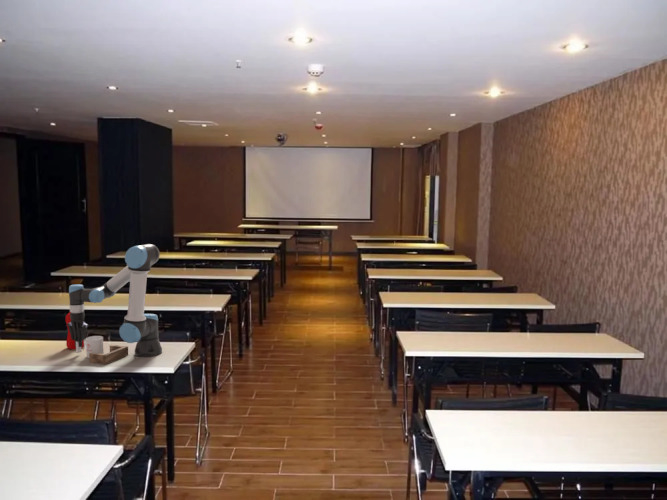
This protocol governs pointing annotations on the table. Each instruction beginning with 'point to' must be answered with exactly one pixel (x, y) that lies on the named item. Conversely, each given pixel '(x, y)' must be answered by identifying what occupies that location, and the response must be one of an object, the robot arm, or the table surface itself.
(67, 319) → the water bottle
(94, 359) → the dock
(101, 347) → the mug
